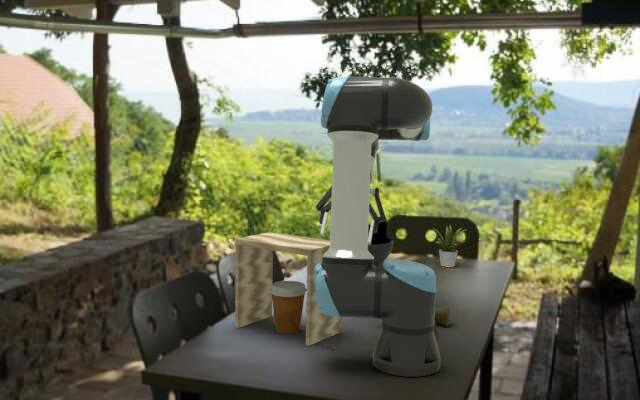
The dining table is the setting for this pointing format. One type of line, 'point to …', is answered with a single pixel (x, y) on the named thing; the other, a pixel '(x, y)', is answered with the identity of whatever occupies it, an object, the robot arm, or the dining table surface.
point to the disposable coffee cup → (288, 305)
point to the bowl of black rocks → (380, 243)
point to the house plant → (448, 248)
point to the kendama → (442, 316)
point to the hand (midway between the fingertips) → (345, 239)
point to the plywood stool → (258, 277)
